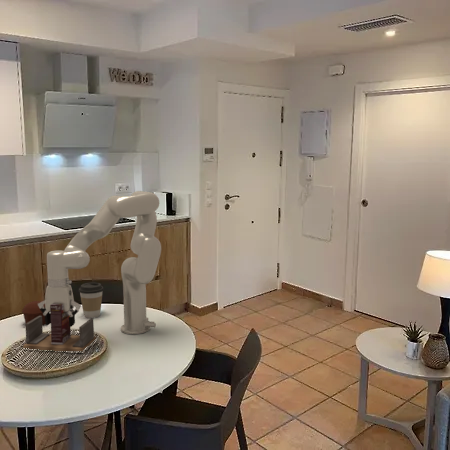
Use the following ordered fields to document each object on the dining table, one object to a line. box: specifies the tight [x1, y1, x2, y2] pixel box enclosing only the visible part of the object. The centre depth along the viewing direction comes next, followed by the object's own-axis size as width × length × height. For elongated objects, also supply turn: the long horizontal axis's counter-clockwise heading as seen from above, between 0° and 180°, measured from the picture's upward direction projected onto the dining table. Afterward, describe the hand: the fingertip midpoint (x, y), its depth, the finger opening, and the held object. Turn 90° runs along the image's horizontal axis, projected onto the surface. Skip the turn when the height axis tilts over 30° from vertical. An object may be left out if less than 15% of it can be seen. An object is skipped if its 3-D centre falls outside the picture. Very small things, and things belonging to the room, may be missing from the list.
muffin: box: [21, 300, 46, 327], centre depth 211 cm, size 12×11×10 cm
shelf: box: [23, 316, 98, 351], centre depth 186 cm, size 24×13×10 cm, turn 82°
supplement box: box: [50, 304, 72, 345], centre depth 186 cm, size 9×5×16 cm, turn 177°
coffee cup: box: [78, 282, 105, 319], centre depth 221 cm, size 11×11×15 cm
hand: (60, 324), depth 186 cm, fingers open, 9 cm apart
